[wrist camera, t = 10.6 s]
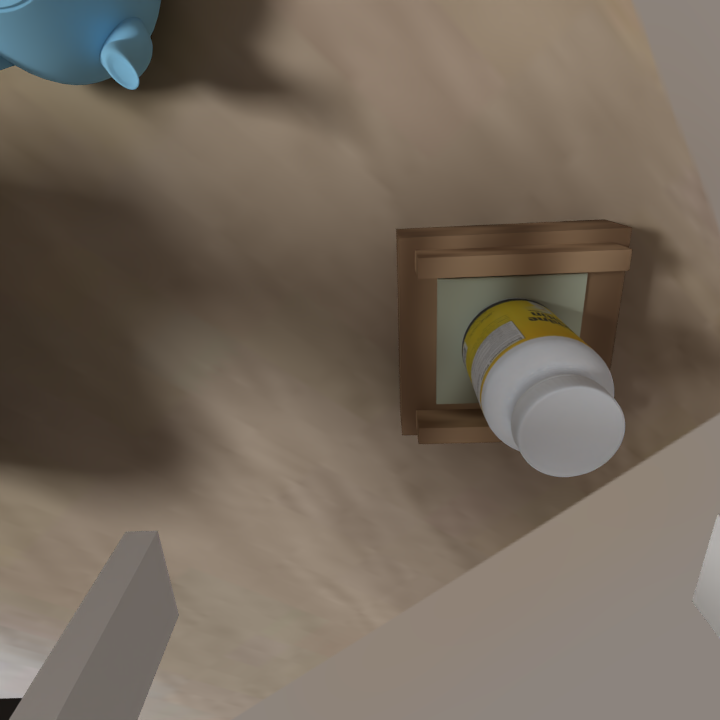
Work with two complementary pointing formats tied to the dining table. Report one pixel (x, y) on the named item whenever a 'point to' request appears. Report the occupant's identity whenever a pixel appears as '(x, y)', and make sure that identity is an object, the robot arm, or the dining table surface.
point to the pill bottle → (542, 388)
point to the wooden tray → (488, 285)
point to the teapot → (79, 39)
